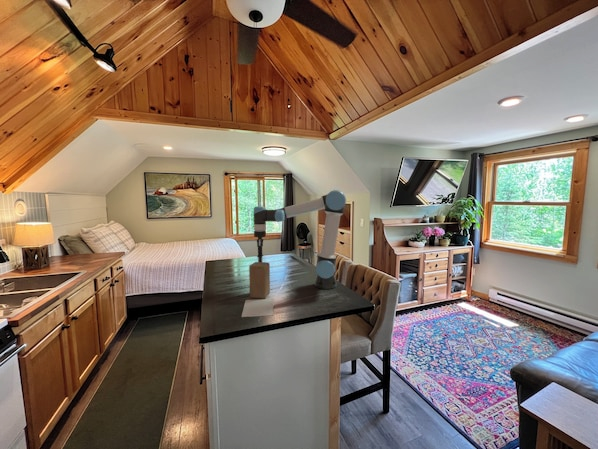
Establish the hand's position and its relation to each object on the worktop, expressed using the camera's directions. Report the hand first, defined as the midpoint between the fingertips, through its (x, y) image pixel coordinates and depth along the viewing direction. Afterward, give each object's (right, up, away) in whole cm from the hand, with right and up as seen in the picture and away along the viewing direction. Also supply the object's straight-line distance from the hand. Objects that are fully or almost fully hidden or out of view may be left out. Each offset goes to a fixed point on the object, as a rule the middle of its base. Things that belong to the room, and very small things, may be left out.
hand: (260, 266), depth 162 cm
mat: (+3, -18, -26) cm, 32 cm away
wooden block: (+1, -17, -9) cm, 19 cm away
